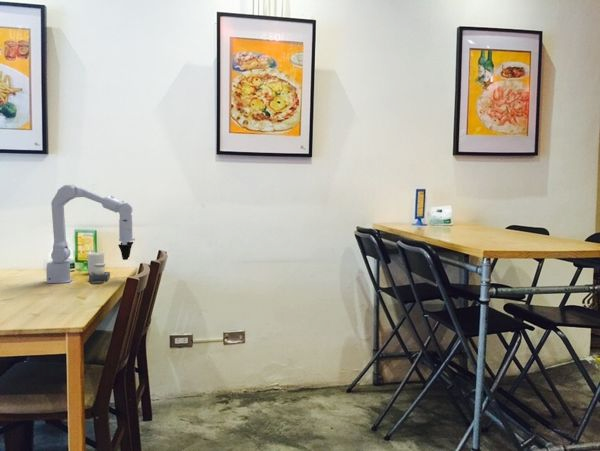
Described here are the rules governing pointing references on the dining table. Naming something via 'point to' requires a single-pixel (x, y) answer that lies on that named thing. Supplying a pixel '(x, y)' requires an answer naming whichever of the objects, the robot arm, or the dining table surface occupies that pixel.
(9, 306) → the dining table surface
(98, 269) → the end cover
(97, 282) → the mat
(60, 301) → the dining table surface
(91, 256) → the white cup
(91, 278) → the housing
